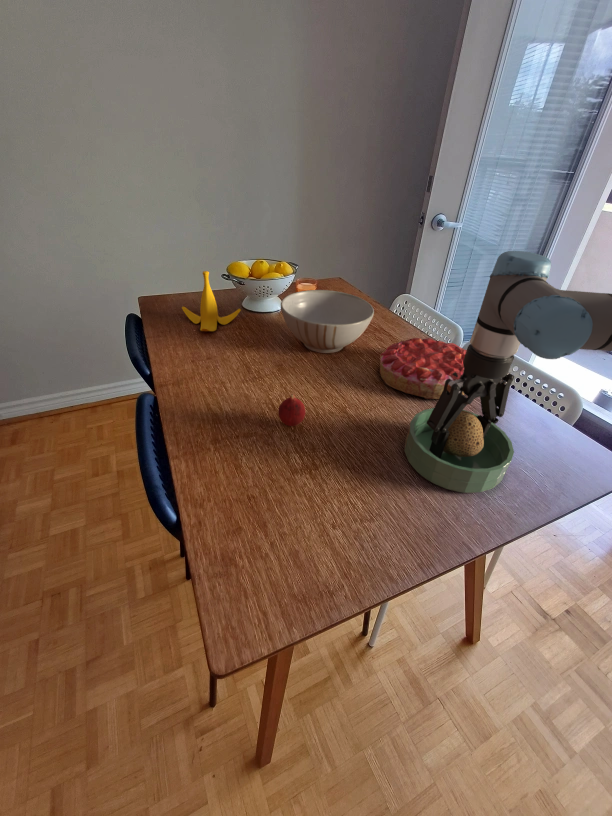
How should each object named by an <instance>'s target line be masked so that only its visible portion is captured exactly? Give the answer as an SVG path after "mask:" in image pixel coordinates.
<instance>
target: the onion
mask: <svg viewBox="0 0 612 816" xmlns="http://www.w3.org/2000/svg"><path fill="white" fill-rule="evenodd" d="M277 411H278V412H277V413H278V418H279V419H280V421H281V423H283V424H284V425H285V426H288V427H295V426H298V425H300V424H301V423H303V421H304V420H305V416H306V407H305V405H304V403H303V402H302V401H301V400H300V399H299V398H298V397H296V396H295V394H293V393H291V394H290V396H289V397H288V398H285V399H284V400H283V401H282V402H281V403H280V404H279V407H278V410H277Z"/></svg>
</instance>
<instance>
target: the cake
mask: <svg viewBox="0 0 612 816" xmlns="http://www.w3.org/2000/svg"><path fill="white" fill-rule="evenodd" d="M466 351H467V349H465V348H462V347H460V346H459V345H457V344H455V343H453V342H445V341H442V340H434V339H433V338H431V337H426V338H419V337H413V338H409V339H406V340H400V341H399V342H396V343H391V345H389V346H387V347H386V350H385V351H384V352H381V353H380V355H379V374H380V376H381V379H382V380H383V381H384V382H385V384H386V385H387V386H389V387H390V388H393V389H395V390H397V391H400V392H403V393H405V394H408V395H414V396H417V397H420V398H424V399H425V400H432V399H433V400H437V401H438V400H439V398H440V396H441V394H442V392H443V390H444V385H445V381H446V380H447V379H451V380H452V381H455V380H459V378H460V377H461V375H462V374H463V372H464V365H463V360H464V357H465V354H466ZM462 394H463V395H464V396H465V394H464V393H463V392H462Z"/></svg>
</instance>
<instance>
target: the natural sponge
mask: <svg viewBox="0 0 612 816" xmlns="http://www.w3.org/2000/svg"><path fill="white" fill-rule="evenodd" d="M463 410H464V409H463ZM463 410H462V411H461V413H460V414H459V415H458V417H457V418H456V419H455V420H454V422H453V423H452V424H451V426H450V427H449V428H448V429H447V430H448V431H449V432H450V433H449V436H448V438H447V441H446V444H445V447H444V450H443V451H444V452H445V453H447V454H450V455H455V456H459V457H470V456H474V455H476V454H478V453H479V452H480V451H481V450H482V448H483V446H484V440H483V429H482V425H481V423H480V421H479V420H478V419H477V417H476V416H474V415H473V414H472V413H473V412H472V413H470V412H471V411H469V412H467V411H468V410H466V411H463Z"/></svg>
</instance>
